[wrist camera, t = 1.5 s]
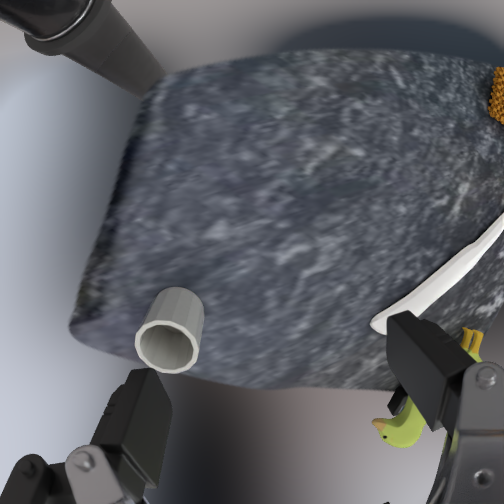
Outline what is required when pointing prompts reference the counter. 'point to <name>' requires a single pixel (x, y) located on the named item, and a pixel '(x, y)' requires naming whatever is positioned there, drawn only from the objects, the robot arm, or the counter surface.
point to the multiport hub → (398, 401)
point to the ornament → (497, 96)
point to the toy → (410, 420)
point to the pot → (171, 331)
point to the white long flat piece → (441, 278)
